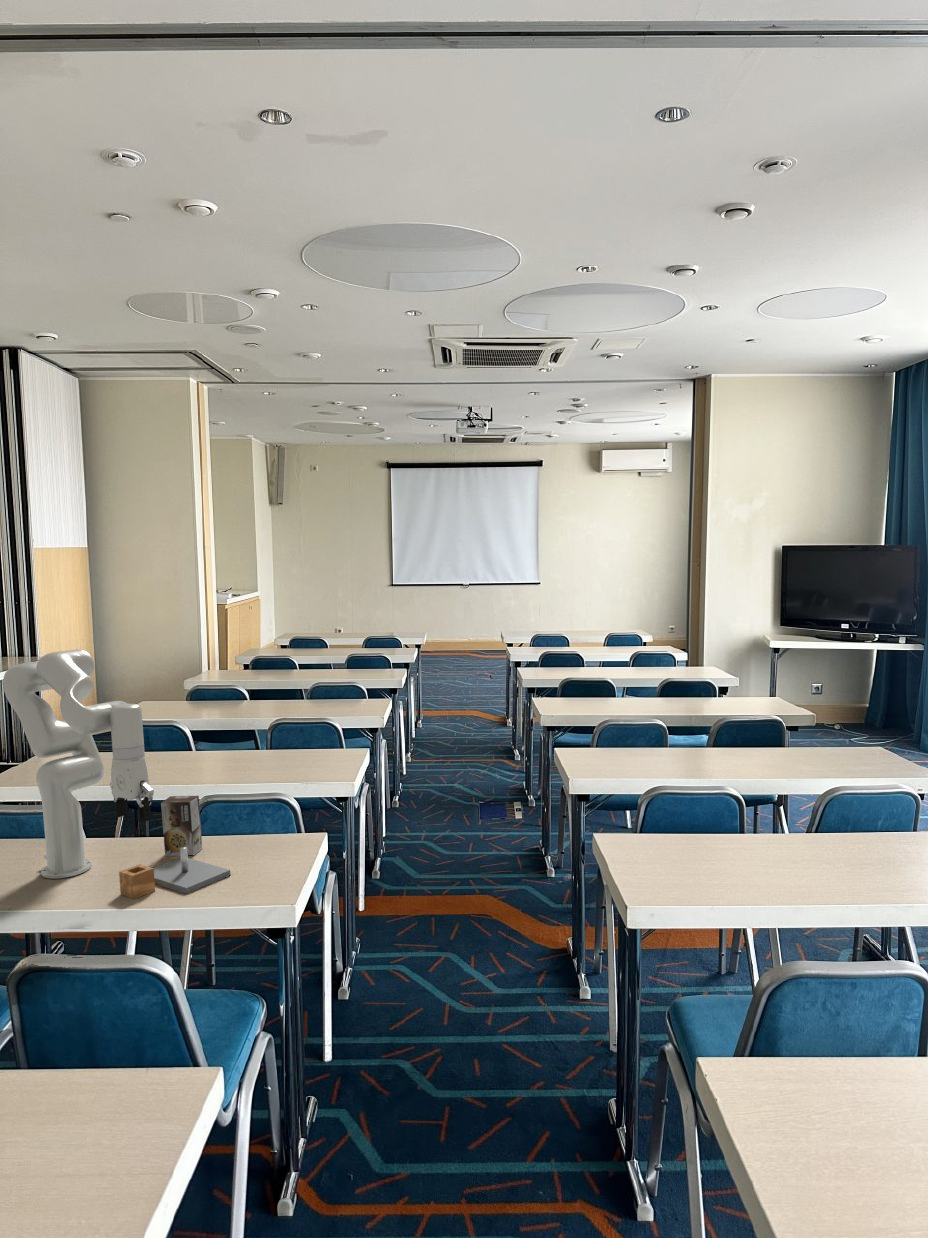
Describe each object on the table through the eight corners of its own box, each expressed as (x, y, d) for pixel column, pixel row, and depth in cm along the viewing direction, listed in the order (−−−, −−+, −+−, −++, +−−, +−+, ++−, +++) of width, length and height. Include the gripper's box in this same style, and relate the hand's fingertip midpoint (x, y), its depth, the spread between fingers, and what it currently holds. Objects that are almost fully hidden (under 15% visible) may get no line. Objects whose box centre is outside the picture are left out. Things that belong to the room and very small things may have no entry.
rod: (180, 872, 222) (178, 848, 221) (185, 870, 223) (184, 846, 223) (184, 873, 221) (182, 849, 220) (189, 871, 222) (188, 847, 222)
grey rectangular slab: (140, 878, 222) (139, 873, 222) (184, 862, 233) (183, 856, 233) (186, 893, 211) (186, 888, 210) (230, 875, 222) (230, 870, 222)
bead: (120, 894, 212) (119, 871, 211) (141, 886, 217) (139, 864, 216) (134, 899, 208) (132, 876, 208) (155, 890, 213) (153, 868, 213)
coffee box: (203, 848, 244) (199, 795, 243) (193, 856, 238) (190, 801, 237) (173, 848, 245) (170, 795, 244) (163, 856, 239) (160, 801, 238)
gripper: (95, 752, 212) (100, 818, 213) (135, 759, 202) (140, 827, 203) (122, 746, 218) (127, 810, 219) (162, 753, 208) (166, 819, 209)
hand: (133, 818), depth 211 cm, fingers open, 9 cm apart
